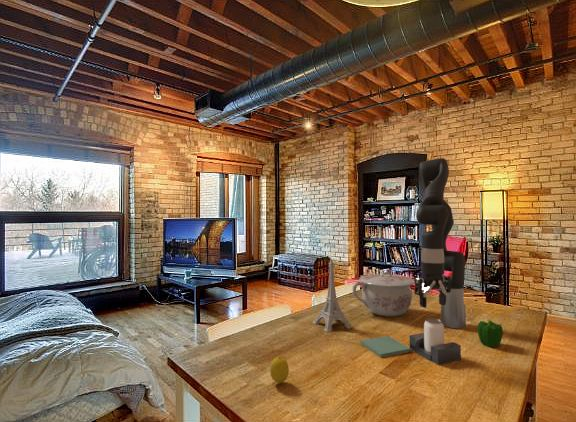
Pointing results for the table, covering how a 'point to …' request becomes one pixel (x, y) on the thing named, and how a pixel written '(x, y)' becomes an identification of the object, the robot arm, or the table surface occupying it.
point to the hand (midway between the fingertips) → (432, 305)
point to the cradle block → (436, 350)
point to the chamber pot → (385, 293)
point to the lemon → (279, 369)
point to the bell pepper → (490, 333)
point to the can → (433, 333)
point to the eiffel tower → (331, 305)
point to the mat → (385, 346)
